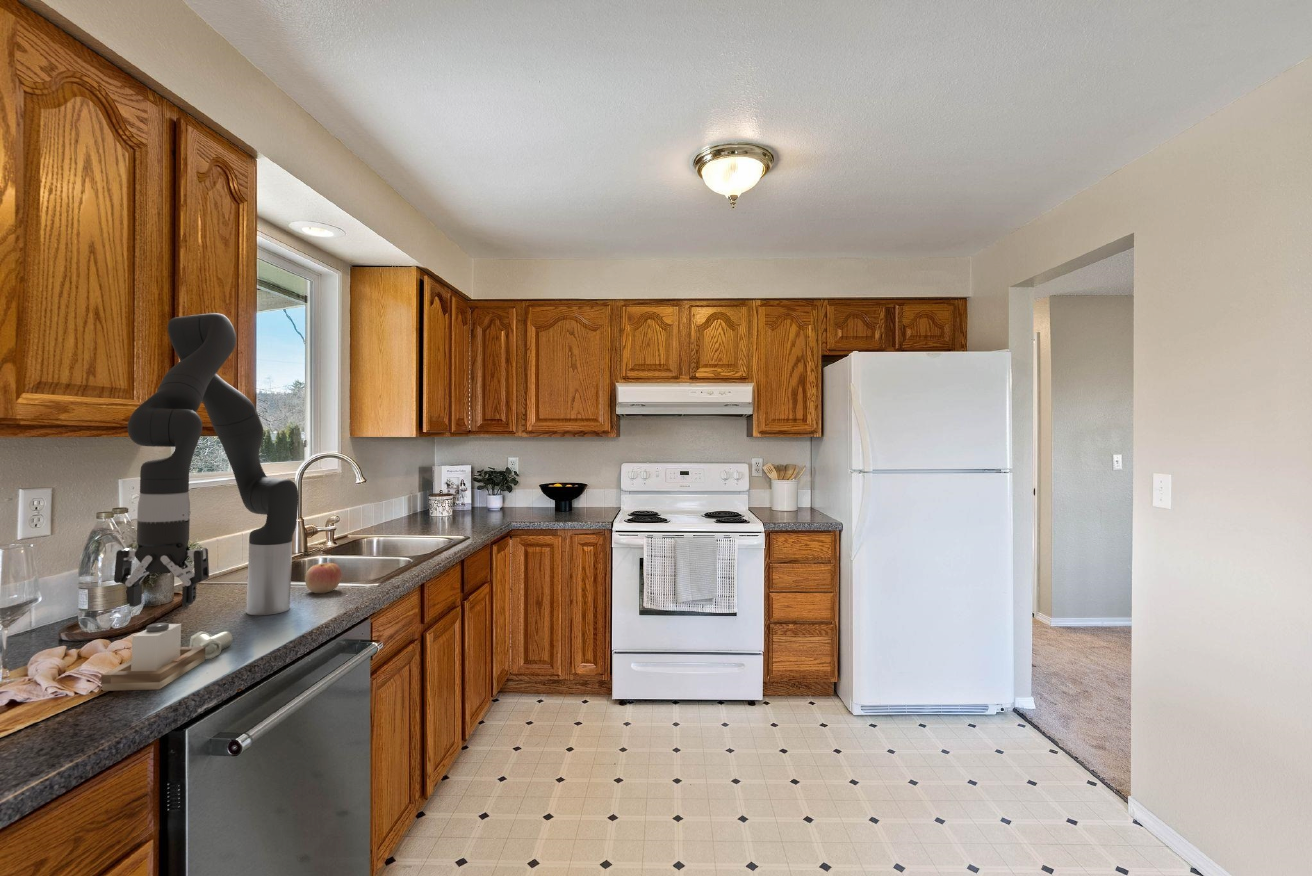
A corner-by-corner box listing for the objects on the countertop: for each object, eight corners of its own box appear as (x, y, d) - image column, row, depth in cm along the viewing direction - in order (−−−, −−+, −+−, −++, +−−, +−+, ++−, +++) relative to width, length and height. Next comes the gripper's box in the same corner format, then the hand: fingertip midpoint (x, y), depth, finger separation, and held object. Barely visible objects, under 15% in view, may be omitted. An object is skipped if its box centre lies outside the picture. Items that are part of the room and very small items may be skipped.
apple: (346, 590, 176) (348, 562, 176) (318, 597, 168) (319, 568, 168) (325, 586, 180) (326, 559, 180) (297, 593, 172) (298, 564, 172)
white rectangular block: (130, 675, 109) (132, 631, 109) (156, 661, 116) (157, 619, 116) (155, 674, 110) (157, 631, 110) (179, 660, 116) (181, 619, 116)
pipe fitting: (227, 646, 130) (188, 651, 125) (230, 627, 131) (191, 631, 125) (239, 655, 125) (199, 661, 120) (241, 636, 125) (202, 641, 120)
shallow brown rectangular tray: (153, 661, 119) (154, 646, 119) (205, 660, 120) (205, 645, 120) (100, 690, 105) (101, 673, 105) (159, 689, 106) (160, 672, 106)
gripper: (105, 519, 108) (103, 612, 108) (195, 520, 110) (193, 610, 110) (133, 514, 115) (131, 600, 115) (217, 514, 118) (215, 599, 118)
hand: (161, 605), depth 113 cm, fingers open, 8 cm apart
